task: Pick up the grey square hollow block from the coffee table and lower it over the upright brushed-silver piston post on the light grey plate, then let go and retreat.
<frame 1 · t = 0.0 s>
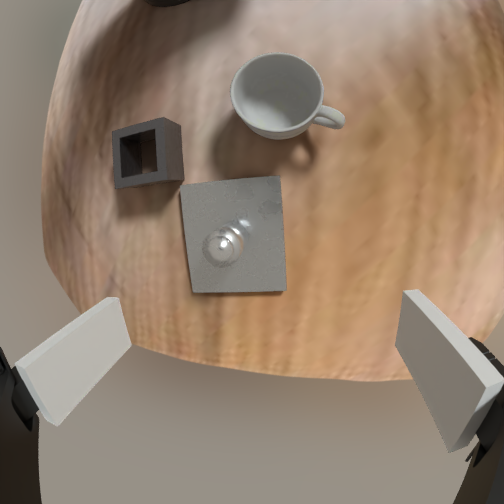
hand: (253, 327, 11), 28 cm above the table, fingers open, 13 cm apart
teacup: (288, 113, 35), on the table
grey square hollow block: (157, 156, 38), on the table
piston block: (234, 235, 39), on the table
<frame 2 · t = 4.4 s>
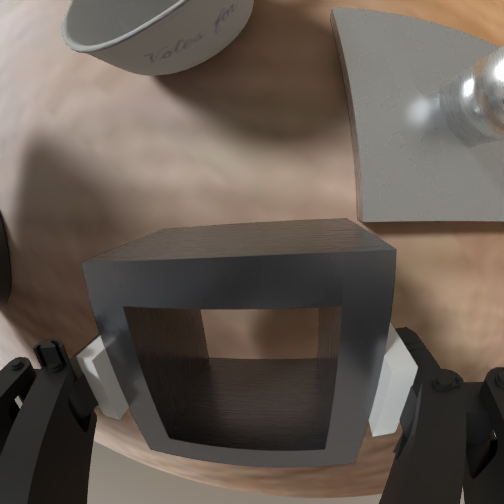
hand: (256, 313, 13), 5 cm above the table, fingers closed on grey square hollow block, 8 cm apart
teacup: (200, 15, 14), on the table
grey square hollow block: (258, 310, 13), point 4 cm above the table, touching gripper
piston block: (455, 116, 13), on the table
when the fingers open (3 cm above the table, at t = 8.7 s): grey square hollow block drops 1 cm, resting on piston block.
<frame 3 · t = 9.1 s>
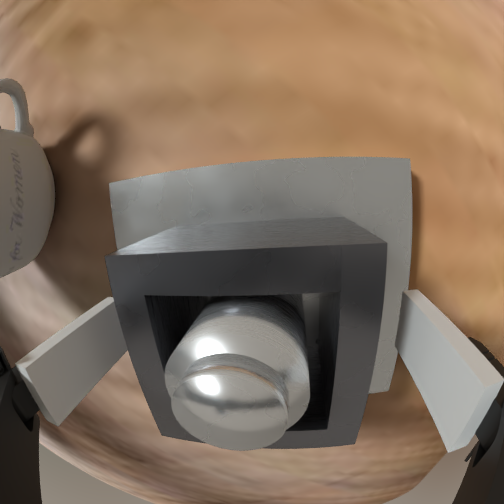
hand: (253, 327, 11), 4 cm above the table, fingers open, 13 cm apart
teacup: (39, 178, 16), on the table
grey square hollow block: (262, 302, 14), point 1 cm above the table, touching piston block
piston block: (262, 291, 15), on the table
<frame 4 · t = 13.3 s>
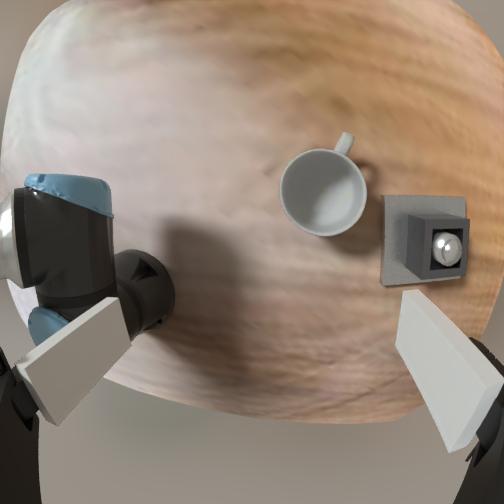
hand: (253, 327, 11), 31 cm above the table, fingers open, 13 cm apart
teacup: (323, 182, 39), on the table
grey square hollow block: (429, 240, 37), point 1 cm above the table, touching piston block
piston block: (424, 238, 38), on the table
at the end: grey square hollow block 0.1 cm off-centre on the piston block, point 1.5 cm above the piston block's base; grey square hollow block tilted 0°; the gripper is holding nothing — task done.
